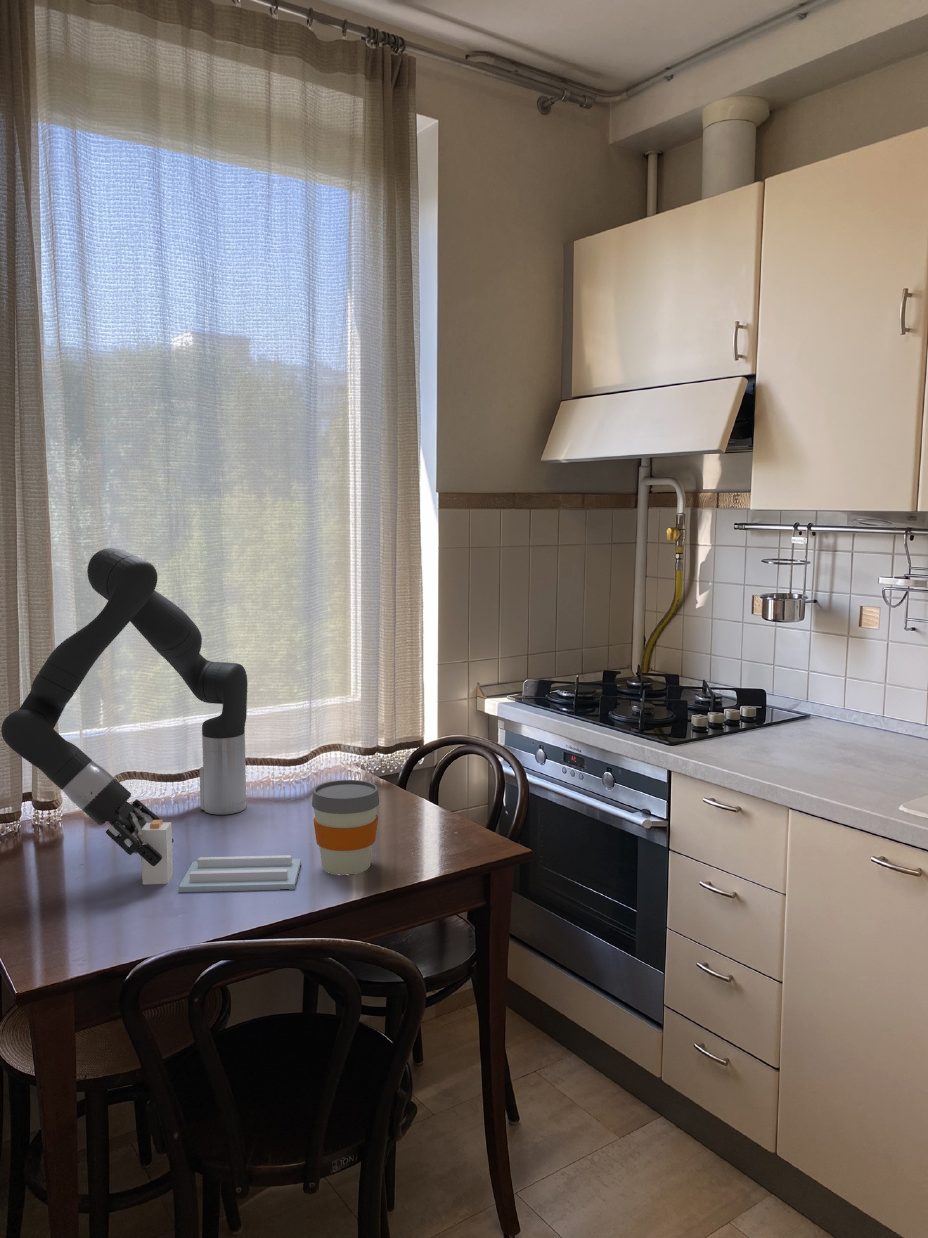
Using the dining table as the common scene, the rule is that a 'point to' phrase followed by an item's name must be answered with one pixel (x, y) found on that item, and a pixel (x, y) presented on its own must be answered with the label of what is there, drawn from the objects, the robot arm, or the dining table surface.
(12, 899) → the dining table surface
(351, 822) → the reusable coffee cup
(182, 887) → the mounting board
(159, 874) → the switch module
